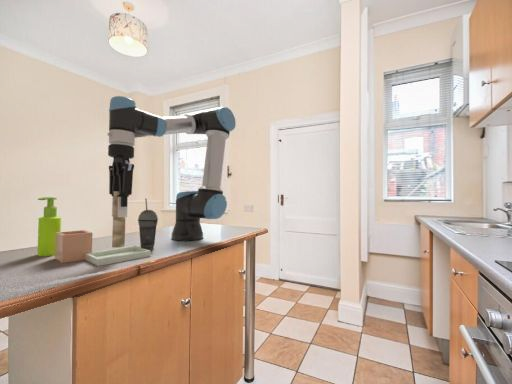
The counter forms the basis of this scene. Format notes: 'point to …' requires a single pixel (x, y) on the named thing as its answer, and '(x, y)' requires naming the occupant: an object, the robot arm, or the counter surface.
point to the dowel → (117, 225)
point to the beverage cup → (147, 228)
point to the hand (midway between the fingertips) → (119, 216)
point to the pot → (72, 245)
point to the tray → (116, 255)
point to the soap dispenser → (48, 228)
